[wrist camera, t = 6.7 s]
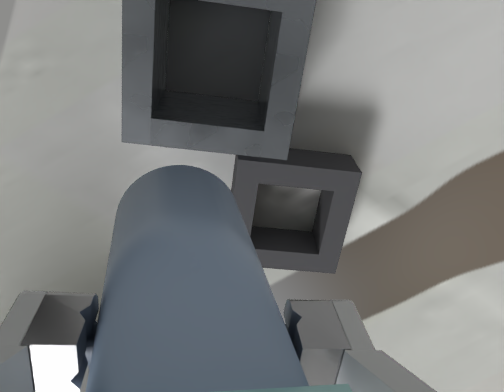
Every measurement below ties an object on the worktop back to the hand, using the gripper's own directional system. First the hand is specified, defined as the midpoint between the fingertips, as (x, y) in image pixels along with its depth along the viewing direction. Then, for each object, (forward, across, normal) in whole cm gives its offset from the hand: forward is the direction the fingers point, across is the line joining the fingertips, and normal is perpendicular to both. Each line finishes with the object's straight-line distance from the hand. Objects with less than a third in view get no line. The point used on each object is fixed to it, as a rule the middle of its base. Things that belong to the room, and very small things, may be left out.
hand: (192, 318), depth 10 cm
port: (+21, -1, -3) cm, 21 cm away
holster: (+21, -7, +7) cm, 23 cm away
